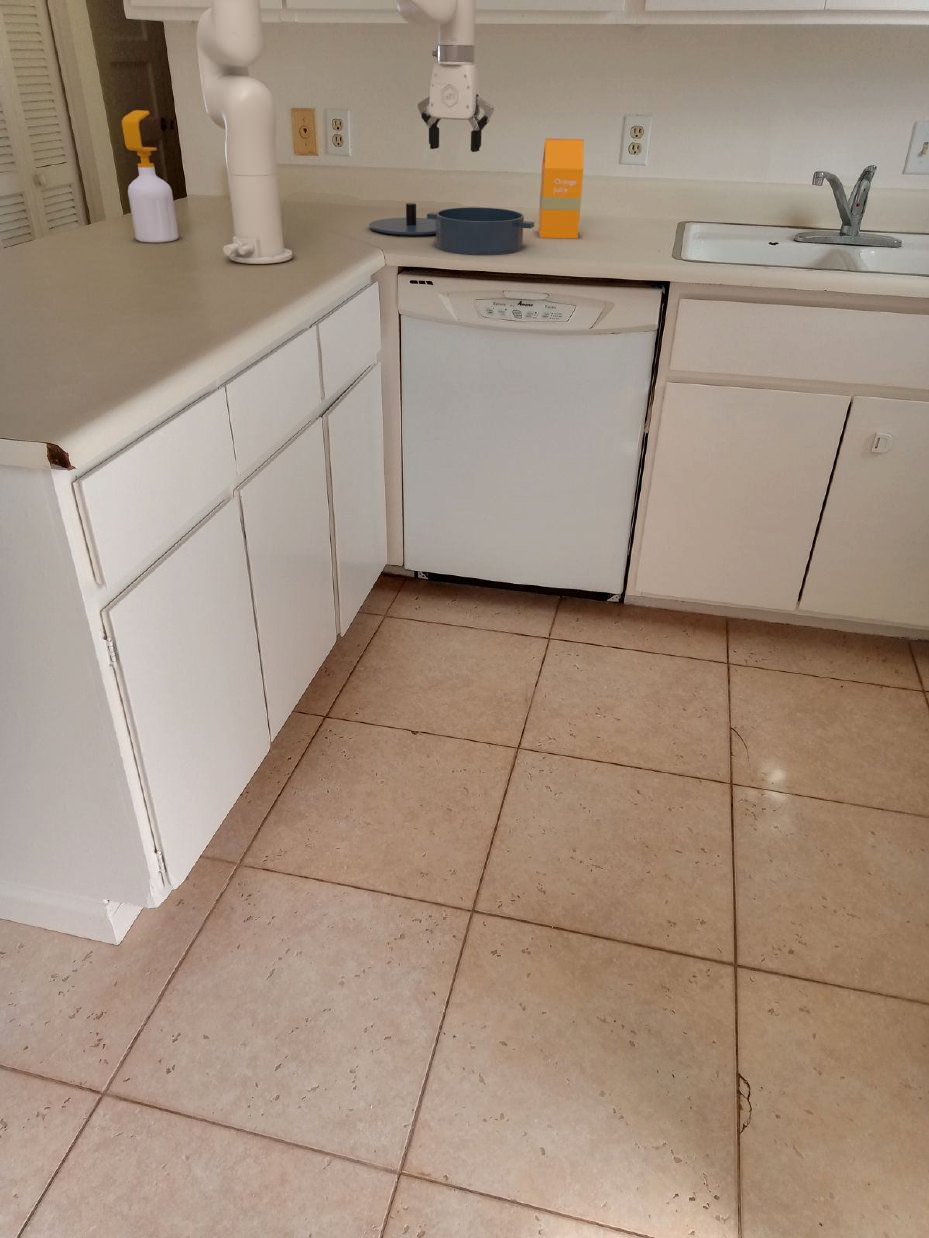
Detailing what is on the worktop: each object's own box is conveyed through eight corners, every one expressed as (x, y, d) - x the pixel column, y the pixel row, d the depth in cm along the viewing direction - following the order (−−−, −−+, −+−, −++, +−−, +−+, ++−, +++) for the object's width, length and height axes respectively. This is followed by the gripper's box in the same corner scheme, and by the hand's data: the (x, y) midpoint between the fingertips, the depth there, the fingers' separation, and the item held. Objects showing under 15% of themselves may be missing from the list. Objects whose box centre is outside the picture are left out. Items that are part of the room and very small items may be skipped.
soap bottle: (187, 238, 197) (169, 111, 184) (159, 245, 190) (138, 113, 177) (155, 234, 200) (135, 108, 187) (127, 240, 193) (104, 111, 180)
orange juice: (577, 238, 206) (586, 141, 195) (540, 237, 206) (546, 140, 195) (574, 232, 213) (582, 138, 202) (537, 231, 213) (543, 137, 202)
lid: (431, 240, 201) (431, 213, 198) (353, 232, 207) (352, 206, 204) (466, 227, 216) (466, 201, 213) (393, 219, 222) (392, 195, 219)
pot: (515, 259, 185) (517, 226, 181) (410, 248, 193) (410, 215, 189) (545, 244, 199) (547, 213, 196) (446, 234, 207) (446, 204, 204)
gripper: (410, 55, 182) (411, 149, 192) (487, 57, 177) (484, 154, 186) (426, 55, 188) (426, 146, 197) (501, 57, 182) (498, 151, 192)
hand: (454, 150), depth 192 cm, fingers open, 9 cm apart
